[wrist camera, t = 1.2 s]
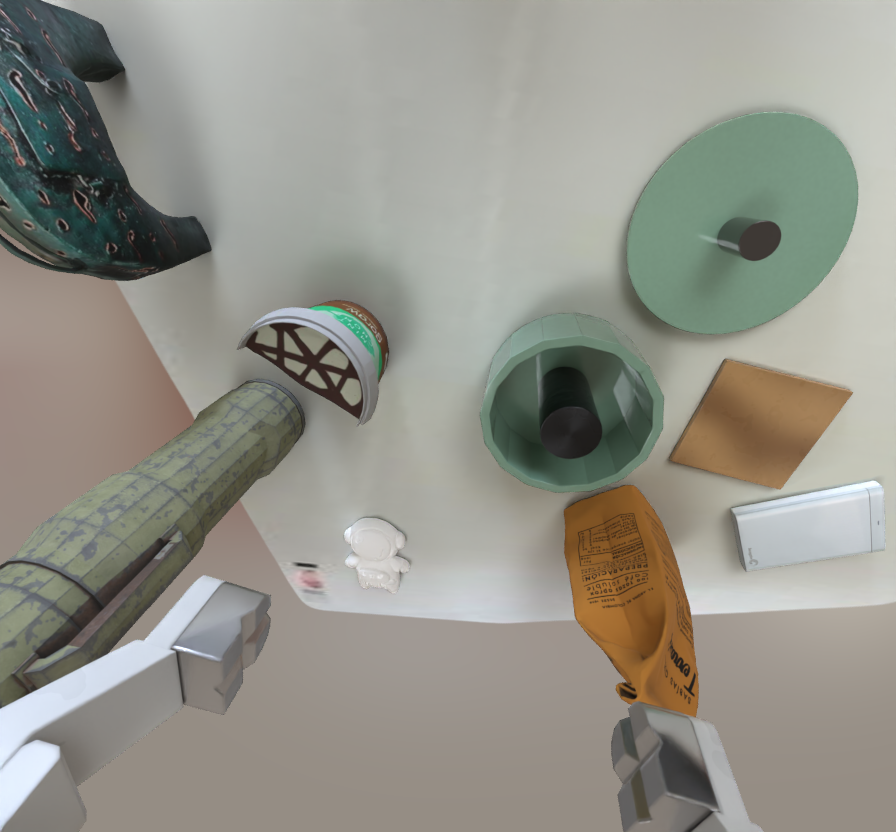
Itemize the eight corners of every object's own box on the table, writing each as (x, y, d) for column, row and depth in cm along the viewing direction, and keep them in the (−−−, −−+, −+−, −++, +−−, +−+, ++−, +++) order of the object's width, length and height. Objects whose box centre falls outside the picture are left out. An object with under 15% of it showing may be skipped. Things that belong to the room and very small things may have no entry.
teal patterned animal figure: (48, 21, 35) (-428, -140, 18) (108, -16, 33) (-357, -236, 16) (181, 270, 43) (-54, 329, 26) (235, 251, 41) (20, 301, 24)
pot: (510, 295, 39) (507, 316, 33) (670, 335, 39) (697, 364, 32) (472, 430, 46) (464, 468, 40) (607, 466, 46) (620, 510, 40)
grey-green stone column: (329, 439, 50) (17, 843, 19) (243, 453, 53) (-144, 821, 22) (298, 368, 46) (-148, 729, 16) (208, 388, 49) (-314, 721, 19)
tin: (546, 360, 41) (550, 399, 33) (596, 373, 41) (612, 415, 33) (531, 404, 43) (532, 450, 36) (578, 417, 43) (589, 465, 36)
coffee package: (588, 576, 53) (623, 797, 34) (551, 499, 49) (567, 704, 30) (674, 558, 50) (767, 792, 31) (644, 473, 45) (729, 685, 26)
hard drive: (746, 573, 47) (887, 553, 43) (735, 516, 44) (886, 489, 40) (739, 562, 49) (875, 541, 45) (728, 506, 46) (873, 478, 42)
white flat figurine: (347, 578, 60) (339, 596, 58) (345, 511, 55) (336, 528, 52) (409, 590, 60) (403, 609, 57) (414, 524, 54) (408, 541, 51)
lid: (677, 91, 31) (702, 75, 26) (900, 141, 30) (965, 134, 26) (595, 306, 38) (604, 322, 34) (772, 350, 38) (805, 372, 33)
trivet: (724, 358, 39) (727, 360, 38) (849, 389, 38) (853, 392, 38) (669, 457, 44) (670, 461, 44) (777, 486, 44) (780, 490, 43)
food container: (425, 336, 42) (399, 376, 34) (394, 383, 45) (362, 430, 36) (315, 259, 40) (256, 280, 32) (290, 313, 43) (230, 345, 35)
